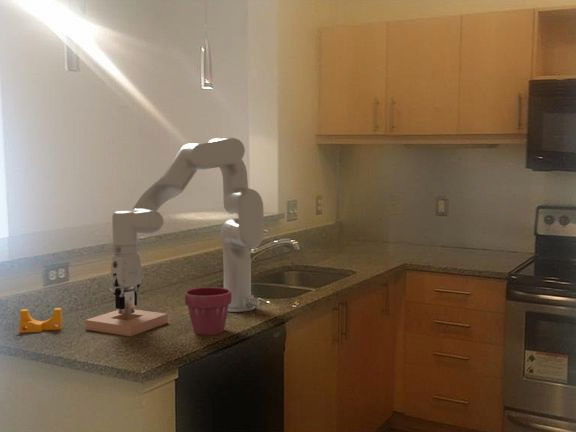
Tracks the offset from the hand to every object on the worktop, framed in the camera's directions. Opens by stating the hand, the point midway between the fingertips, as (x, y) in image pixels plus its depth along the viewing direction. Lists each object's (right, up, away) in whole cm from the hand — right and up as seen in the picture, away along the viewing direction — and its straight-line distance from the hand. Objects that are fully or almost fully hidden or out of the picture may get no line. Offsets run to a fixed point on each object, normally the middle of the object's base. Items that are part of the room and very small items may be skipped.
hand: (126, 306), depth 222 cm
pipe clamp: (-26, -7, -3) cm, 27 cm away
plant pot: (+27, -7, -6) cm, 29 cm away
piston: (0, -2, 0) cm, 2 cm away
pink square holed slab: (0, -6, +1) cm, 6 cm away
